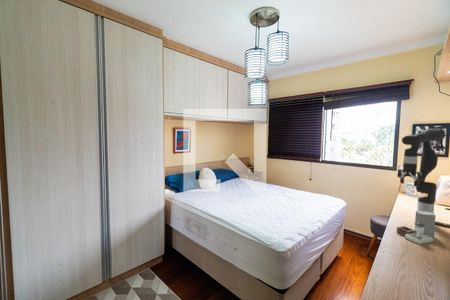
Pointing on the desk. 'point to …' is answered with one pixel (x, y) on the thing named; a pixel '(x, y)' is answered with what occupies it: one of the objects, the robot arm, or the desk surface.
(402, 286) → the desk surface
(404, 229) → the block
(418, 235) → the pin
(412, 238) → the tray
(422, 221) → the skincare box
